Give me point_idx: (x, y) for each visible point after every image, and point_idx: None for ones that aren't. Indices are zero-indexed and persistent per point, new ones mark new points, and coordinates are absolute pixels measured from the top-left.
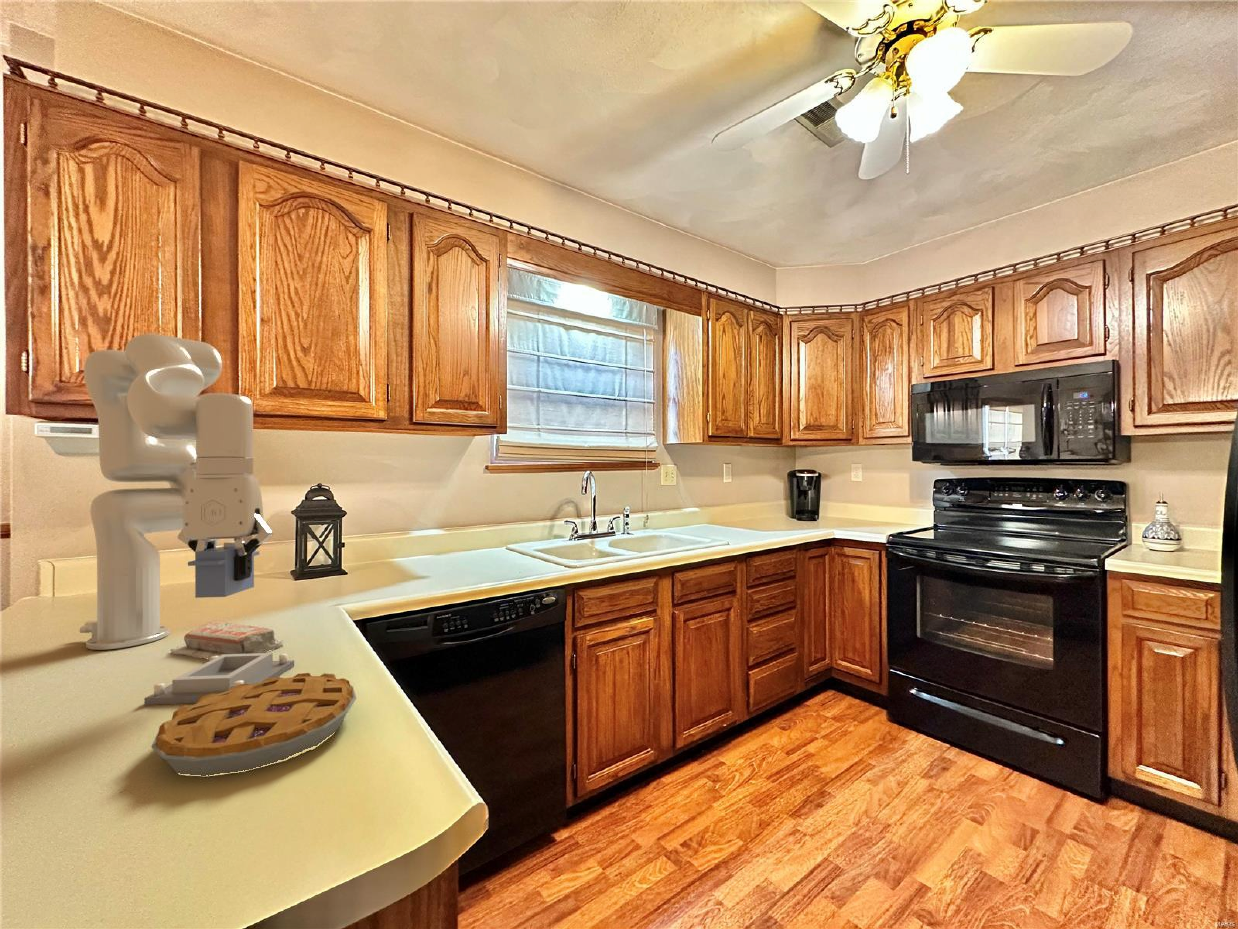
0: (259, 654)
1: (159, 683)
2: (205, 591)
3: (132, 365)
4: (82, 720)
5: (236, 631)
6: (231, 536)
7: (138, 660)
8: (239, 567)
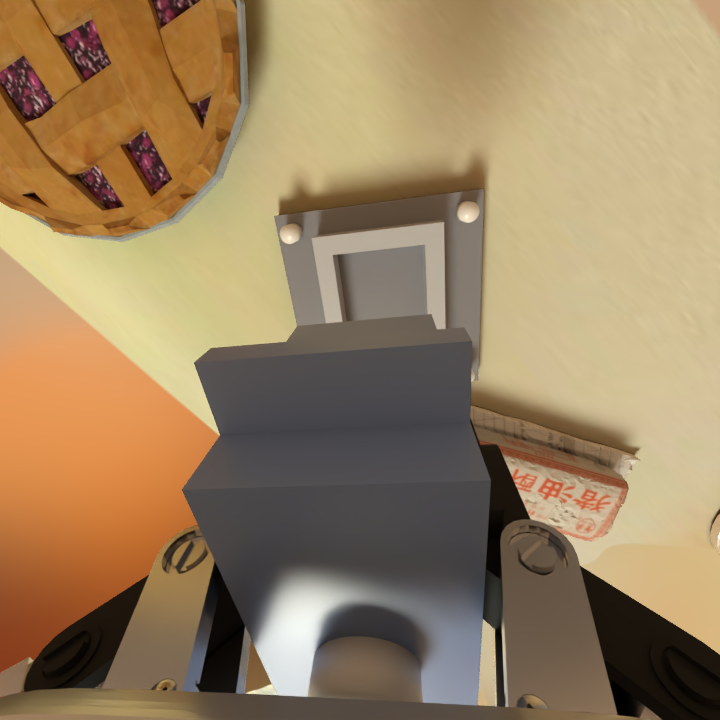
0: None
1: (474, 218)
2: (385, 329)
3: None
4: (566, 99)
5: None
6: (49, 716)
7: (682, 420)
8: None
